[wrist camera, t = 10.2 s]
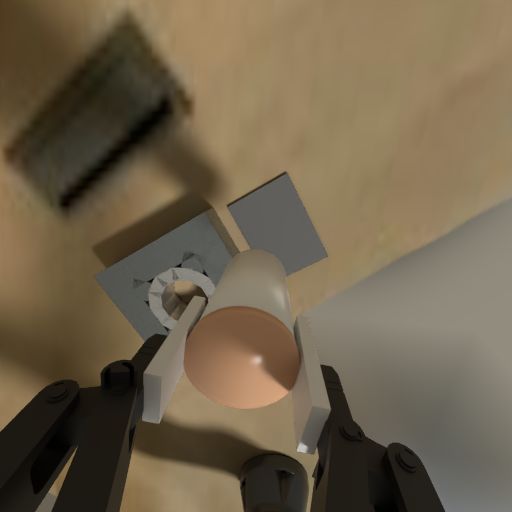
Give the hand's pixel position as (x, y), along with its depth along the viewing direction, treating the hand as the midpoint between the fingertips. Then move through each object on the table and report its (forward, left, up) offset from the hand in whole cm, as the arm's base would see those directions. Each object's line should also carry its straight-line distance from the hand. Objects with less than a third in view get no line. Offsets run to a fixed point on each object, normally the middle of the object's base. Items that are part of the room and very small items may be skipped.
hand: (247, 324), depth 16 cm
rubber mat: (0, -3, -22) cm, 23 cm away
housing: (-2, +14, -22) cm, 26 cm away
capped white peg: (0, 0, -7) cm, 7 cm away
